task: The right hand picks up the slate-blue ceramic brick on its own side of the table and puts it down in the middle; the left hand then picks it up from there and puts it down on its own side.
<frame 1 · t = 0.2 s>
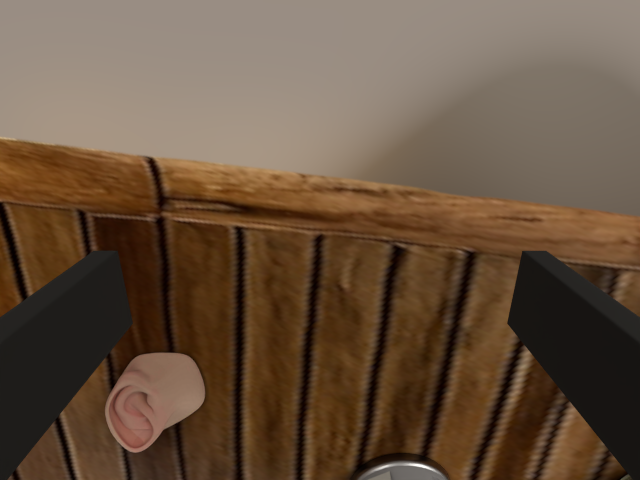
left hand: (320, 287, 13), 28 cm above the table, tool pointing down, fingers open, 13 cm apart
anatomical model: (160, 389, 50), on the table
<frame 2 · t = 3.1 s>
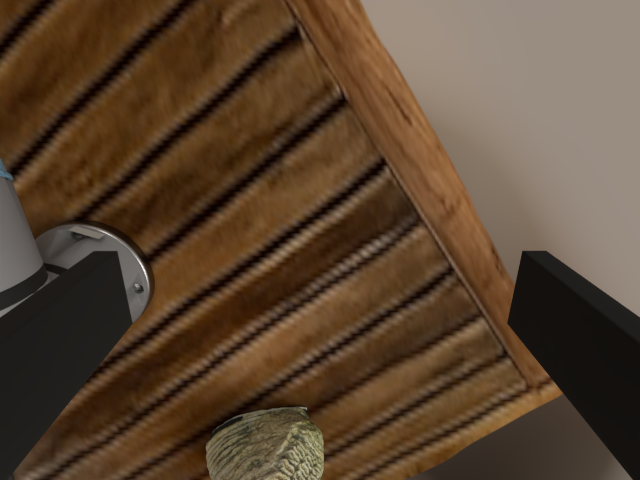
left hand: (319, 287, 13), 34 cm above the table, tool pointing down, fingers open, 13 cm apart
fossil: (266, 425, 59), on the table
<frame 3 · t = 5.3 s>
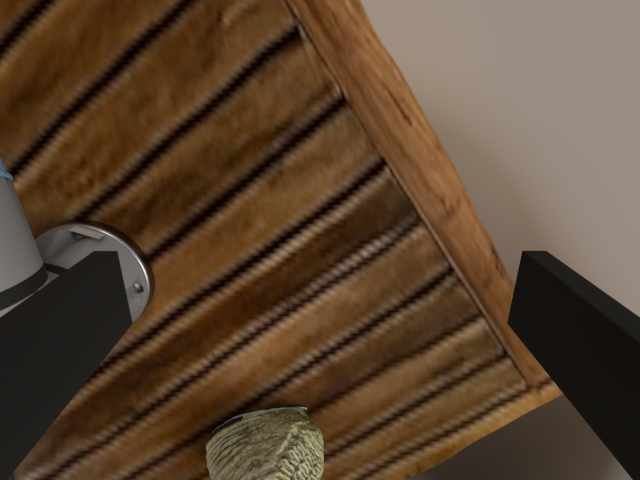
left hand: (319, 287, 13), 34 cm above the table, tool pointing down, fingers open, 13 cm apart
fossil: (266, 425, 59), on the table
when the right hand's fingers open (4 cm above the table, at t = 7.8 s): brick drops 2 cm, on the table.
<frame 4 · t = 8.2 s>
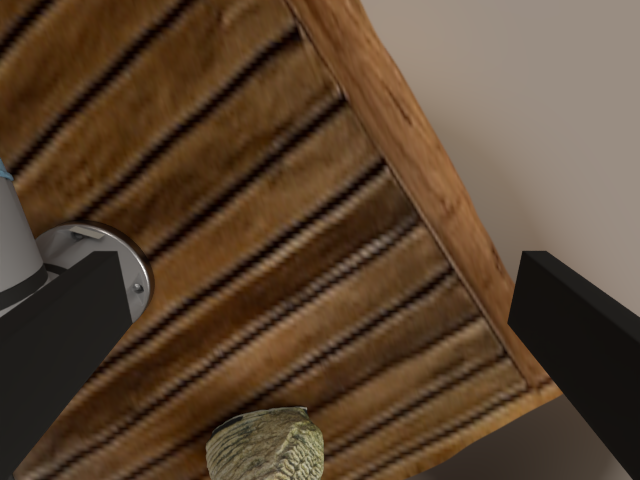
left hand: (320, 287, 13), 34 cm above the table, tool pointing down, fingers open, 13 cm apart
fossil: (266, 425, 59), on the table
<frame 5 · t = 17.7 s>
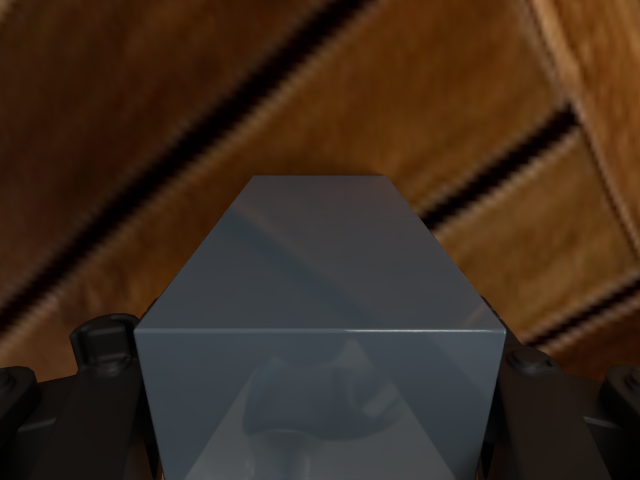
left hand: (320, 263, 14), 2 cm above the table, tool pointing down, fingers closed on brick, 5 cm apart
brick: (319, 241, 16), on the table, touching left hand
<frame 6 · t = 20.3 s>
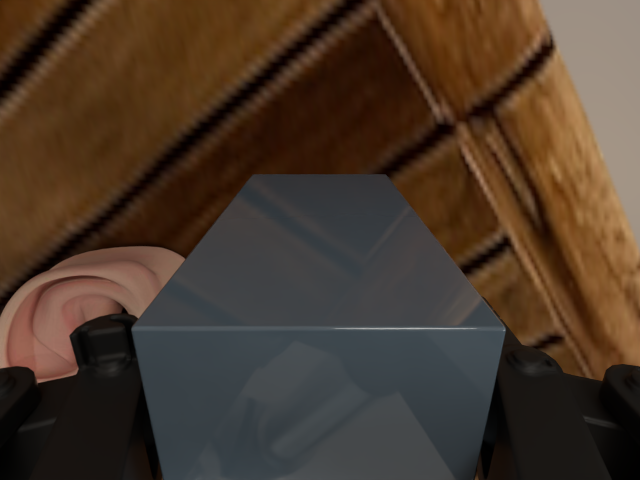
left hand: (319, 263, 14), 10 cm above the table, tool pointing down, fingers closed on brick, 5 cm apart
brick: (319, 241, 16), point 7 cm above the table, touching left hand
anatomical model: (137, 312, 27), on the table
when the left hand's fingers open (4 cm above the table, at t = 22.9 s): brick drops 2 cm, on the table.
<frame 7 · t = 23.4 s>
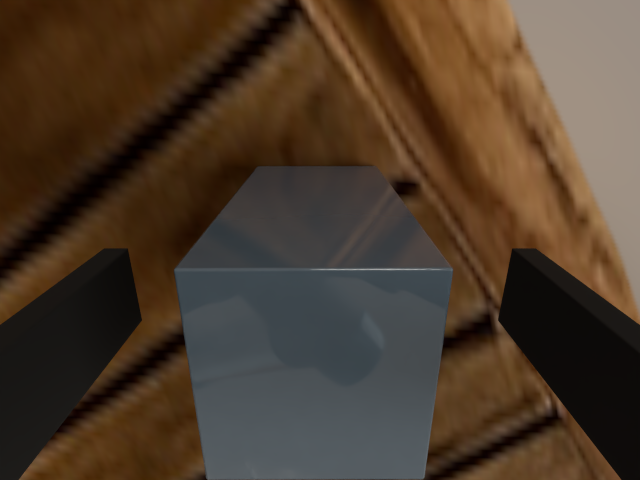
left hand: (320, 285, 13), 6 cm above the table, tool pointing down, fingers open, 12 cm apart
brick: (317, 226, 18), on the table
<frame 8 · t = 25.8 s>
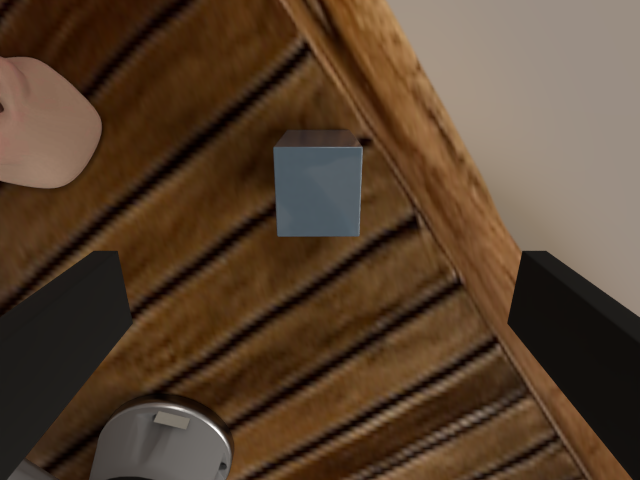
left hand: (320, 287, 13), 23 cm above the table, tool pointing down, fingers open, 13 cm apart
brick: (318, 163, 34), on the table
anatomical model: (20, 124, 33), on the table
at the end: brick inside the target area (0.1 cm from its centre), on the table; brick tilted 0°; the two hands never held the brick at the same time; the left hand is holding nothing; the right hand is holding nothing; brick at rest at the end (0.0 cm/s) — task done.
